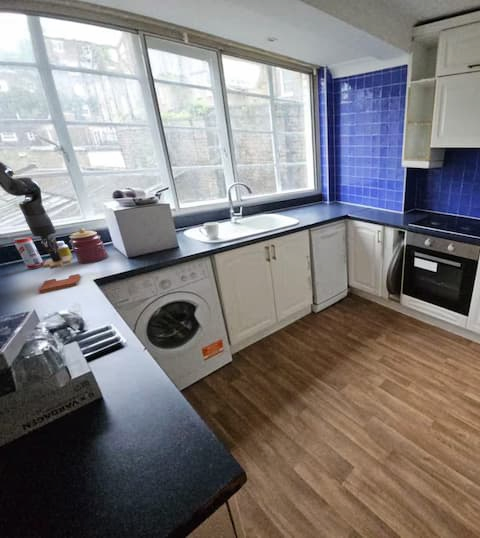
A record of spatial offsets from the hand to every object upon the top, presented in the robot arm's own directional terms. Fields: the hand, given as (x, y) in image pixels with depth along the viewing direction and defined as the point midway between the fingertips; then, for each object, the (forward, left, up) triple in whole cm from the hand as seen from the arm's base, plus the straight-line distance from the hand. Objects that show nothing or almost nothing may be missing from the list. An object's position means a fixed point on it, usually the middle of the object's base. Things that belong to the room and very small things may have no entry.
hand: (57, 259), depth 138 cm
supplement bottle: (-4, +35, -9) cm, 36 cm away
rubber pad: (0, -11, -9) cm, 14 cm away
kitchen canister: (+9, +22, -9) cm, 25 cm away
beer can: (-15, +28, -9) cm, 33 cm away
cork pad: (0, -2, -2) cm, 2 cm away
